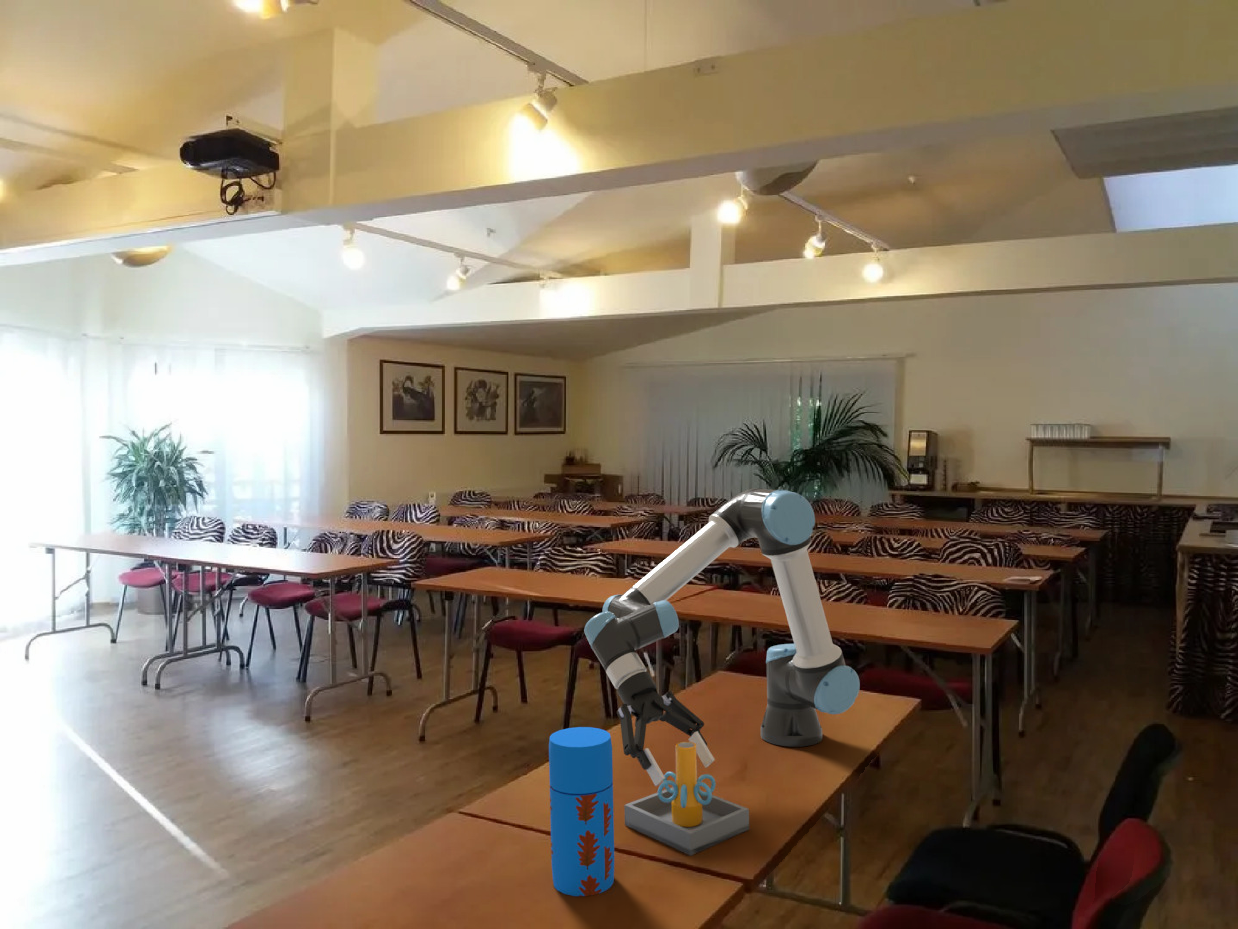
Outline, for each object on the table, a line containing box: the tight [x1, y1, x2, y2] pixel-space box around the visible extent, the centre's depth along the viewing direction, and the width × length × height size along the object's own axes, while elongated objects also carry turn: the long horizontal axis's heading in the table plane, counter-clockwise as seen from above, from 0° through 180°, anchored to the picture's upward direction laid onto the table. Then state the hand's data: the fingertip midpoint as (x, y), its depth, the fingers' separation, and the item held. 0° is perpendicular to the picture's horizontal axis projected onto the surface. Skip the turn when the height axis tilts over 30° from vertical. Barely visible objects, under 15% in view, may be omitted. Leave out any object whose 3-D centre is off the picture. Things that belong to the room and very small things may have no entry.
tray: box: [623, 786, 750, 856], centre depth 178 cm, size 16×18×4 cm
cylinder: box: [657, 741, 716, 827], centre depth 178 cm, size 12×10×15 cm
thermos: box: [548, 726, 615, 897], centre depth 157 cm, size 11×11×25 cm
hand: (686, 773), depth 178 cm, fingers open, 13 cm apart
